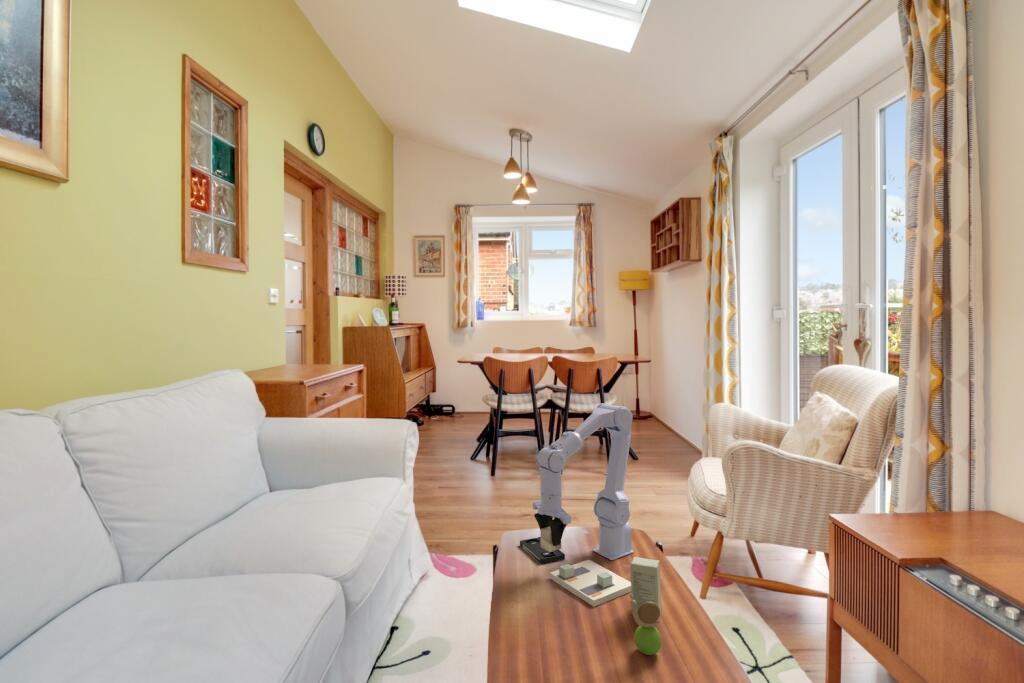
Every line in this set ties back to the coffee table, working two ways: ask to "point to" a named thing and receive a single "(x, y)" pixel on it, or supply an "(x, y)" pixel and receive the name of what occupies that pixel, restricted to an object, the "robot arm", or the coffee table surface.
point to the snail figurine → (646, 627)
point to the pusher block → (548, 540)
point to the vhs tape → (540, 551)
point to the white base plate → (592, 583)
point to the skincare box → (645, 581)
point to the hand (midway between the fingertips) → (551, 542)
